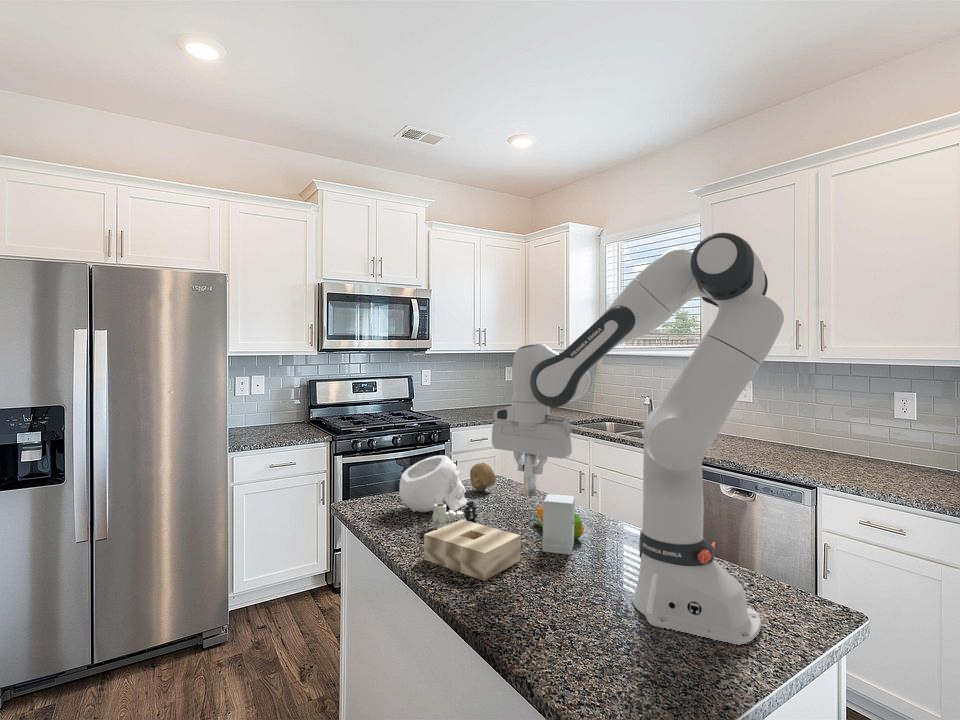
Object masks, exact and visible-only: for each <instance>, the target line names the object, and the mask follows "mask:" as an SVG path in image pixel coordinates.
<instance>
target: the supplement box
mask: <svg viewBox="0 0 960 720" xmlns="http://www.w3.org/2000/svg"><path fill="white" fill-rule="evenodd" d="M575 499H576V498H575V496H574V495H563V494H550V493H549V494H548V493H547V494H546V495H545V497H544V500H543V502H542V503H543V504H542V506H543V521H542V524H543V528H542V549H541V550H542V552H544V553H553V554H562V555H570V556H571V555H572V554H573V549H574V544H575V539H574V513H575V503H576V502H575V501H576V500H575Z"/></svg>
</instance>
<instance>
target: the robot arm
mask: <svg viewBox="0 0 960 720" xmlns="http://www.w3.org/2000/svg"><path fill="white" fill-rule="evenodd" d="M752 248H753V247H751V245H750V244H749V242H748V241H746V240H745V239H744V238H743V237H741V236H739V235H736V234H734V233H729V232H719V233H713V234H711V235H708V236H707V237H705V238H704V239H702V240H701V241H700V242H699V243H698V244H697V245H696V246H695V248H694V249H693V251H692V252H691V251H690V250H687V249H684V248H680V247H679V248H678V247H676V248H672V249H669V250H667V251H666V252H665V253H663V254H662V255H660V256H659V257H657V258H656V259H655V260H653V261H652V262H651V263H649V264H648V265H647V266H646V267H645V268H644V269H643V270H641V271H640V272H639V273H638V274H637V275H636V276H635V278H633V279H632V280H631V281H630V282H629V283H628V284H627V285H626V286H625V287H624V289H622V291H621V292H620V294H618V295H617V297H616V298H615V299H614V301H613V302H612V303H611V304H610V305H609V306H608V307H607V309H606V310H605V311H604V312H603V313H602V315H601V316H600V317H598V319H597V320H596V321H595V322H594V323H593V324H592V325H591V326H590V327H589V328H587V329H586V330H585V331H584V332H582V334H581V335H580V336H579V337H578V338H576V339H575V340H574V341H573V342H572V343H571V344H570V345H569V346H568V347H567V348H566V349H565V350H563V351H562V352H560V353H559V352H557V351H556V350H553V349H551V347H549V346H548V344H545V343H534V344H527V345H523V346H521V347H518V348H517V350H516V351H515V353H514V356H513V361H512V374H511V375H512V377H511V383H512V387H513V394H512V397H511V405H509V406H506V407H502V408H500V409H499V408H498V409H496V410H494V412H493V417H494V419H495V421H493V424H492V429H491V445H492V446H493V448H494V449H496V450H503V451H508V452H513V457H514V459H515V461H516V465H517V471H519V472H523V473H524V459H523V458H524V457H522V456H524V453H527V454H534V455H537V461H538V462H537V465H536V466H534V471H533V472H534V474H537V475H543V472H544V466H545V464H546V462H547V461H548V458H555V459H560V460H563V459H566V458H569V457H570V456H571V454H572V452H573V451H572V449H573V447H572V439H571V438H572V437H571V432H572V431H571V430H572V429H571V422H570V421H569V420H568V419H567V418H565V416H561V415H559V416H557V415H551V414H550V411H551V410H550V409H551V408H559V407H562V406H564V405H566V404H567V403H570V402H573V401H577V400H579V399H581V398H582V397H585V395H586V394H588V392H589V391H590V389H591V386H592V382H593V378H592V373H591V371H590V370H591V369H592V368H593V367H594V366H595V365H596V364H597V363H599V362H600V361H601V360H602V359H603V358H604V357H605V356H606V355H607V354H608V353H609V352H611V351H612V350H613V349H615V348H616V347H618V346H619V345H622V344H623V343H625V342H628V341H631V340H633V339H638V338H640V337H643V336H647V335H649V334H650V333H651V332H653V331H655V330H657V329H658V328H659V327H660V326H662V325H663V324H665V323H666V322H667V321H668V320H669V319H671V318H672V316H673V315H674V314H675V313H676V312H677V311H678V310H680V309H681V308H682V307H683V306H684V305H685V304H686V303H688V302H689V301H690V300H693V299H694V298H700V297H701V299H702V300H703V302H706V303H707V304H710V305H713V306H715V307H717V308H718V311H717V315H716V317H715V319H714V321H713V322H712V324H711V326H709V328H708V330H707V331H706V332H705V334H704V336H703V337H702V338H701V340H700V342H698V344H697V346H696V347H695V349H694V350H693V352H692V353H691V355H690V357H688V360H686V362H685V364H684V365H683V366H682V368H681V370H680V372H679V374H678V375H677V377H676V379H675V380H674V382H673V383H672V385H671V387H670V389H669V390H668V392H667V393H666V395H665V397H664V399H663V400H662V402H661V404H660V405H659V406H657V407H655V408H654V409H652V411H651V412H650V413H649V414H648V415H647V417H646V419H645V422H644V425H643V426H644V427H643V465H642V466H643V467H642V468H643V469H642V473H643V475H642V476H643V478H642V480H643V481H642V482H643V483H642V526H641V527H642V529H640V531H639V540H638V541H639V543H638V544H639V545H638V551H639V558H640V565H639V571H638V578H637V583H636V587H635V590H634V593H633V597H632V603H633V605H634V607H635V608H636V610H638V611H639V612H640V613H641V614H642V615H644V617H645V619H646V620H647V621H646V622H648V623H649V624H650V625H651V626H653V627H656V628H661V629H664V628H666V630H669V629H673V630H678V631H681V632H686V633H690V634H694V635H697V636H696V637H698V636H701V637H700V638H702V637H706V638H710V639H713V640H712V641H715V640H718V641H717V642H719V641H724V642H728V643H732V644H738V645H740V644H744V643H747V642H750V641H752V640H753V639H754V638H755V637H756V636H757V635H758V636H759V634H760V633H761V632H760V631H761V630H760V629H762V624H761V617H760V615H759V614H758V612H757V611H756V610H754V609H752V608H749V607H748V603H747V602H748V601H747V597H746V596H747V595H746V593H745V589H744V588H743V586H742V584H741V583H740V582H739V581H738V580H737V579H736V578H734V577H733V576H732V575H731V574H730V573H729V572H728V571H727V570H726V569H724V568H723V567H722V566H721V565H720V564H719V563H718V562H717V561H716V560H714V558H715V550H716V542H715V541H713V542H712V543H710V542H709V541H708V540H707V539H706V538H705V537H704V506H705V505H704V504H705V503H704V500H705V499H704V487H703V485H704V483H703V481H704V480H703V463H702V462H703V459H704V458H705V456H706V455H707V452H708V450H709V449H710V447H711V446H712V444H713V443H714V441H715V439H716V438H717V436H718V435H719V432H720V431H721V429H722V427H723V425H724V423H725V422H726V420H727V418H728V416H729V415H730V413H731V411H732V409H733V407H734V405H735V403H736V402H737V400H738V398H739V397H740V395H741V394H742V393H743V392H744V390H745V388H746V387H747V386H748V384H749V383H750V381H751V379H753V377H754V375H755V374H756V373H757V371H758V369H759V368H760V367H761V365H762V364H763V363H764V361H765V359H766V358H767V356H768V355H769V354H770V352H771V350H772V348H773V346H774V344H775V342H776V340H777V339H778V338H777V337H778V336H779V334H780V332H781V329H782V327H783V324H784V321H785V315H784V311H783V310H782V308H781V307H780V305H778V303H776V301H774V300H773V299H771V298H769V297H768V296H766V294H767V291H768V285H769V284H768V283H769V282H768V275H767V274H766V272H765V270H764V267H763V264H762V262H761V260H760V258H759V256H758V255H757V254H756V252H755V251H754V250H753V249H752ZM673 630H672V631H673ZM681 632H680V633H681ZM759 632H760V633H759ZM690 634H689V635H690ZM694 635H693V636H694ZM758 636H757V637H758ZM757 637H756V638H757ZM706 638H705V639H706ZM710 639H709V640H710ZM753 641H754V640H753ZM753 641H752V642H753ZM750 643H751V642H750Z"/></svg>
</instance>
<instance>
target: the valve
mask: <svg viewBox="0 0 960 720" xmlns="http://www.w3.org/2000/svg"><path fill="white" fill-rule="evenodd" d="M476 510H477V506H476V505H474V501H473V500H472V501H469V502H467V503H466V507H464V510H463V512H462V511H460V510H459V511H458V510H457V511H452V510H450V509H449V510H447V504H446V503H438V504H434V506H433V510H432V512H433V513H432V517H431V518H432V522H433V524H432V527H433V529H432V530H434V529H439V528H442V527H444V526H447V521H448V522H454V519H461V518H463V517H464V518H465V520H466V521H470V522H473V523H477V521H476V520H477V518H478V513H476Z"/></svg>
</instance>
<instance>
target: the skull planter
mask: <svg viewBox="0 0 960 720" xmlns="http://www.w3.org/2000/svg"><path fill="white" fill-rule="evenodd" d="M461 476H462V473H461V471H459V470H458V465H456V463H454V462H453V461H452V459H451V458H449V456H446V455H443V454H441V455H440V454H439V455H434V456H429V457H427V458H424V459H422V460H420V461H418V462H415V463H414V464H413V465H410V466H409V467H407V469H406V470H405V471H403V472H402V474H401V477H400V479H399V487H398V488H399V496H400V499H401V500H402V502H403V503H404V504H405V506H406V507H407V508H408V509H410V510H411V511H412V512H413V513H415V512H416V513H417V512H419V513H428V512H433V506H434V504H438V503H442V504H446V506H448V508H449V510H452V511H453V512H456V511H455V510H457V511H458V510H459V509H461V508H464V507H465V506H467V503H468V500H467V498H466V497H465V493H466V488H465V486H464V485H463V481H462V480H461V479H462V478H461Z"/></svg>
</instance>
